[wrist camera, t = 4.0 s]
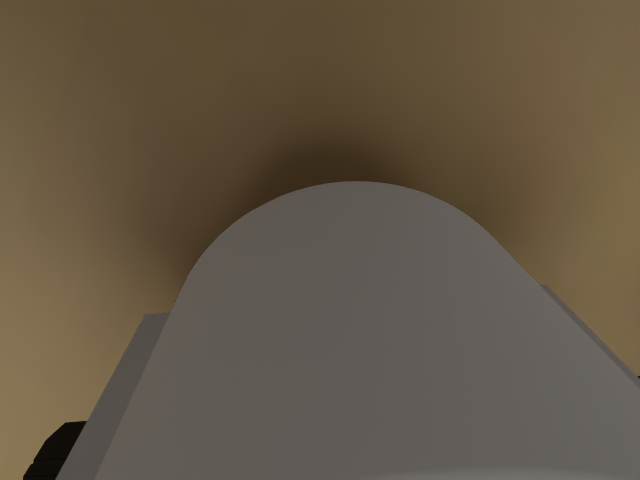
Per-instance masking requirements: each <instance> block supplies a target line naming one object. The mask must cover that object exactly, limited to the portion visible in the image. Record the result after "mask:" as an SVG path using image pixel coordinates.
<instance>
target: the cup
mask: <svg viewBox="0 0 640 480" xmlns="http://www.w3.org/2000/svg"><path fill="white" fill-rule="evenodd" d="M94 480H640V389H639V388H638V387H637V386H636V385H635V384H634V382H633V381H632V380H631V379H630V378H629V377H628V376H627V375H626V374H625V373H624V372H623V371H622V370H621V369H620V368H619V367H618V366H617V365H616V364H615V363H614V362H613V361H612V360H611V359H610V358H609V357H608V356H607V355H606V354H605V353H604V352H603V351H602V350H601V348H600V347H599V346H598V345H597V344H596V343H595V342H594V341H593V340H592V339H591V338H590V337H589V336H588V335H587V334H586V333H585V332H584V331H583V330H582V329H581V328H580V327H579V326H578V325H577V324H576V323H575V322H574V321H573V320H572V319H571V317H570V316H569V315H568V314H567V313H566V312H565V311H564V310H563V309H562V308H561V307H560V306H559V305H558V304H557V303H556V302H555V301H554V300H553V299H552V298H551V297H550V296H549V295H548V294H547V293H546V292H545V291H544V290H543V288H542V287H541V286H540V285H539V284H538V283H537V282H536V281H535V280H534V279H533V278H532V277H531V276H530V275H529V274H528V273H527V272H526V271H525V270H524V269H523V268H522V267H521V266H520V265H519V264H518V263H517V262H516V260H515V259H514V258H513V257H512V256H511V255H510V254H509V253H508V252H507V251H506V250H505V249H504V248H503V247H502V246H501V245H500V244H499V243H498V242H497V241H496V240H495V239H494V238H493V237H492V236H491V235H490V234H489V233H488V232H487V231H486V230H485V229H484V228H483V227H482V226H481V225H479V224H478V223H477V222H476V221H475V220H473V219H472V218H471V217H469V216H468V215H466V214H465V213H464V212H462V211H461V210H459V209H457V208H455V207H454V206H452V205H450V204H448V203H447V202H445V201H443V200H440V199H438V198H436V197H434V196H432V195H429V194H426V193H423V192H420V191H418V190H415V189H411V188H407V187H403V186H399V185H394V184H387V183H381V182H368V181H344V182H334V183H326V184H321V185H315V186H310V187H307V188H303V189H299V190H296V191H293V192H290V193H287V194H284V195H282V196H279V197H277V198H275V199H273V200H271V201H269V202H267V203H265V204H263V205H261V206H260V207H258V208H256V209H254V210H252V211H250V212H249V213H247V214H246V215H244V216H243V217H241V218H240V219H238V220H237V221H235V222H234V223H233V224H232V225H231V226H230V227H228V228H227V229H226V230H225V231H224V232H222V233H221V234H220V235H219V236H218V237H217V238H216V239H215V240H214V242H213V243H212V244H211V245H210V246H209V247H208V248H207V249H206V250H205V251H204V253H203V254H202V256H201V257H200V258H199V260H198V261H197V262H196V264H195V265H194V266H193V268H192V270H191V271H190V273H189V275H188V277H187V279H186V281H185V283H184V285H183V287H182V289H181V291H180V293H179V295H178V297H177V300H176V302H175V304H174V306H173V308H172V311H171V313H170V315H169V317H168V319H167V321H166V324H165V326H164V328H163V330H162V332H161V335H160V337H159V339H158V341H157V343H156V345H155V348H154V350H153V352H152V354H151V356H150V359H149V361H148V363H147V365H146V367H145V370H144V372H143V374H142V376H141V378H140V380H139V383H138V385H137V387H136V389H135V391H134V394H133V396H132V398H131V400H130V402H129V405H128V407H127V409H126V411H125V413H124V415H123V418H122V420H121V422H120V424H119V426H118V429H117V431H116V433H115V435H114V437H113V440H112V442H111V444H110V446H109V448H108V451H107V453H106V455H105V457H104V459H103V462H102V464H101V466H100V468H99V470H98V472H97V475H96V477H95V479H94Z"/></svg>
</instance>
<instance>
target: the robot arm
mask: <svg viewBox="0 0 640 480" xmlns="http://www.w3.org/2000/svg"><path fill="white" fill-rule="evenodd" d="M540 286H541V287H542V288H543V290H544V291H545V292H546V293H547V294H548V295H549V296H550V297H551V298H552V299H553V300H554V301H555V302H556V303H557V304H558V305H559V306H560V307H561V308H562V309H563V310H564V311H565V312H566V313H567V314H568V315H569V316H570V317H571V319H572V320H573V321H574V322H575V323H576V324H577V325H578V326H579V327H580V328H581V329H582V330H583V331H584V332H585V333H586V334H587V335H588V336H589V337H590V338H591V339H592V340H593V341H594V342H595V343H596V344H597V345H598V346H599V347H600V348H601V350H602V351H603V352H604V353H605V354H606V355H607V356H608V357H609V358H610V359H611V360H612V361H613V362H614V363H615V364H616V365H617V366H618V367H619V368H620V369H621V370H622V371H623V372H624V373H625V374H626V375H627V376H628V377H629V378H630V379H631V380H632V381H633V382H634V384H635V385H636V386H637V387H638V388H639V389H640V376H636V375H635V374H634V373H633V372H632V371H631V370H630V369H629V368H628V367H627V366H626V365H625V364H624V363H623V362H622V361H621V360H620V359H619V358H618V357H617V356H616V355H615V354H614V353H613V352H612V351H611V350H610V349H609V348H608V347H607V346H606V345H605V344H604V343H603V342H602V341H601V340H600V339H599V338H598V337H597V336H596V335H595V334H594V333H593V332H592V331H591V330H590V329H589V328H588V327H587V326H586V325H585V324H584V323H583V322H582V321H581V320H580V319H579V318H578V317H577V316H576V315H575V314H574V313H573V312H572V311H571V310H570V309H569V308H568V307H567V306H566V305H565V304H564V303H563V302H562V301H561V299H560V298H559V297H558V296H557V295H556V294H555V293H554V292H553V291H552V290H551V289H550V288H549V287H548V286H547V285H546V284H545V285H540ZM169 315H170V313H158V314H145V316H144V318H143V320H142V321H141V323H140V325H139V327H138V329H137V331H136V332H135V334H134V336H133V338H132V340H131V342H130V343H129V345H128V347H127V349H126V351H125V353H124V354H123V356H122V358H121V360H120V362H119V364H118V365H117V367H116V369H115V371H114V373H113V375H112V376H111V378H110V380H109V382H108V384H107V386H106V388H105V389H104V391H103V393H102V395H101V397H100V399H99V400H98V402H97V404H96V406H95V408H94V410H93V411H92V413H91V415H90V417H89V419H88V421H79V422H67V423H64V424H63V425H62V426H61V427H60V428H59V429H58V430H57V431H56V432H54V433H53V434H52V435H51V436H50V437H49V438H48V439H47V440H46V441H45V442H44V444H43V446H42V447H41V449H40V450H39V452H38V454H37V455H36V457H35V459H34V460H33V461H34V462H33V464H31V465H30V467H29V468H28V470H27V471H26V473H25V475H24V476H23V480H94V479H95V477H96V475H97V472H98V470H99V468H100V466H101V464H102V462H103V459H104V457H105V455H106V453H107V451H108V448H109V446H110V444H111V442H112V440H113V437H114V435H115V433H116V431H117V429H118V426H119V424H120V422H121V420H122V418H123V415H124V413H125V411H126V409H127V407H128V405H129V402H130V400H131V398H132V396H133V394H134V391H135V389H136V387H137V385H138V383H139V380H140V378H141V376H142V374H143V372H144V370H145V367H146V365H147V363H148V361H149V359H150V356H151V354H152V352H153V350H154V348H155V345H156V343H157V341H158V339H159V337H160V335H161V332H162V330H163V328H164V326H165V324H166V321H167V319H168V317H169Z"/></svg>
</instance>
